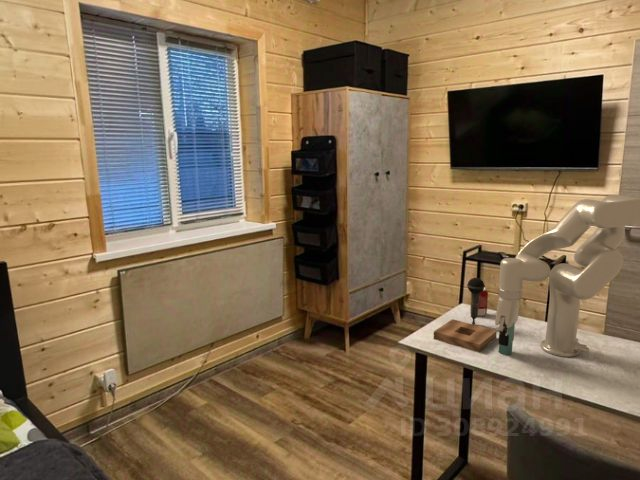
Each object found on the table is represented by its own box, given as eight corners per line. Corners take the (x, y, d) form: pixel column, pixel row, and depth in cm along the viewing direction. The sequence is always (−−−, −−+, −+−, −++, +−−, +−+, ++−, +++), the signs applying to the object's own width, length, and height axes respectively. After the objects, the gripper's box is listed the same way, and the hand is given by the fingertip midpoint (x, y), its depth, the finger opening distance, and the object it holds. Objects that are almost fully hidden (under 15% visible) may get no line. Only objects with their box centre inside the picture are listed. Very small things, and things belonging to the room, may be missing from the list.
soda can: (487, 318, 194) (489, 291, 191) (471, 317, 195) (472, 290, 192) (485, 312, 200) (487, 286, 198) (469, 311, 201) (470, 285, 199)
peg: (513, 352, 162) (516, 320, 160) (509, 356, 159) (511, 324, 156) (501, 348, 165) (503, 317, 163) (496, 352, 162) (499, 321, 159)
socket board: (496, 338, 174) (496, 330, 173) (479, 352, 162) (479, 344, 162) (452, 326, 186) (452, 319, 185) (433, 338, 174) (433, 331, 173)
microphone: (463, 321, 191) (466, 275, 186) (480, 321, 190) (483, 275, 185) (466, 327, 184) (469, 280, 180) (483, 328, 183) (487, 280, 179)
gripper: (507, 285, 166) (503, 332, 170) (489, 297, 154) (486, 347, 158) (529, 290, 161) (524, 337, 165) (512, 302, 149) (508, 354, 153)
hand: (505, 342), depth 161 cm, fingers closed on peg, 4 cm apart
